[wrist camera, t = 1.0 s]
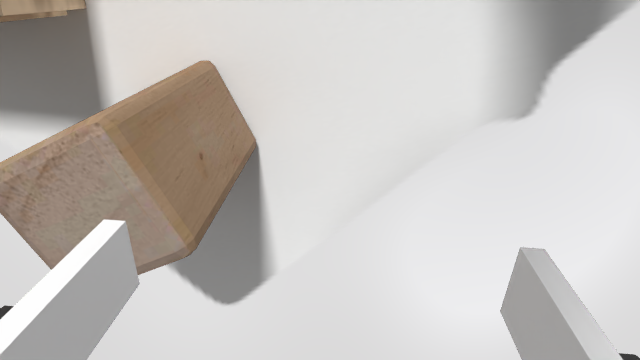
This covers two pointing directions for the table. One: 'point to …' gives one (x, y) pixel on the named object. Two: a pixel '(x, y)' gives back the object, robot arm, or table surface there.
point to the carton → (36, 8)
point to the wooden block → (133, 171)
